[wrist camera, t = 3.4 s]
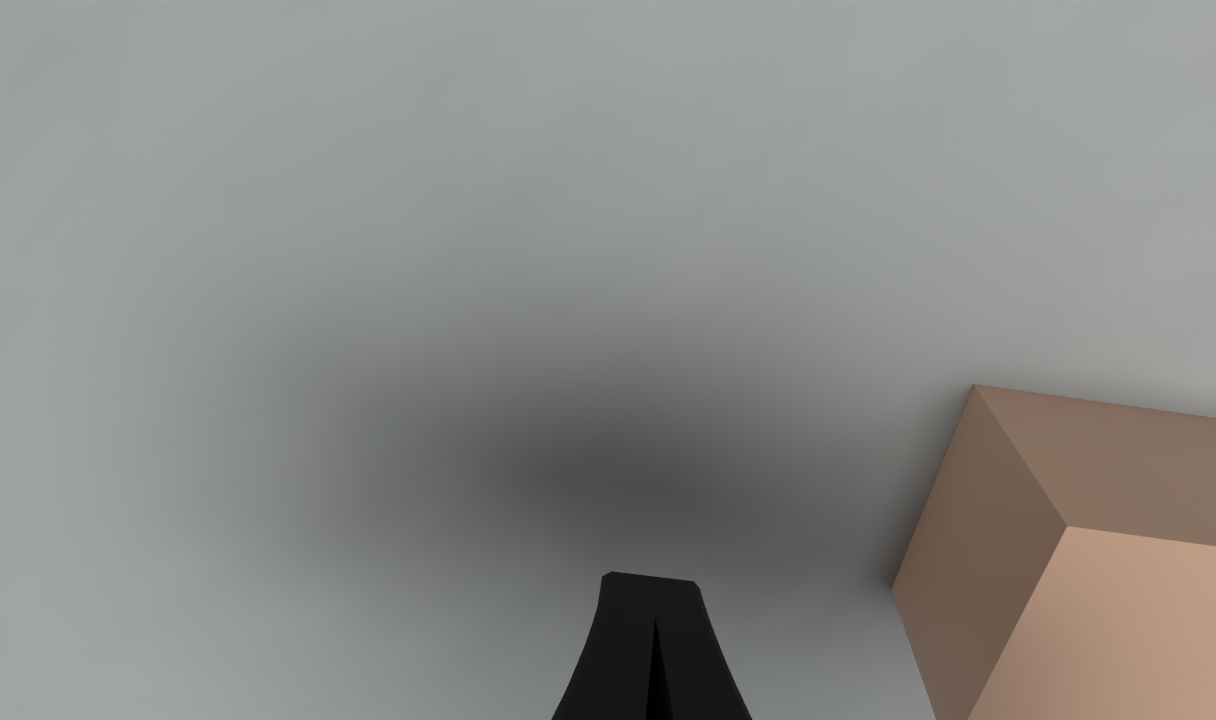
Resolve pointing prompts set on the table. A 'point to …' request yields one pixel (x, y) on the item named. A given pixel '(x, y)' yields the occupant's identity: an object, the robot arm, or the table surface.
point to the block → (1066, 564)
